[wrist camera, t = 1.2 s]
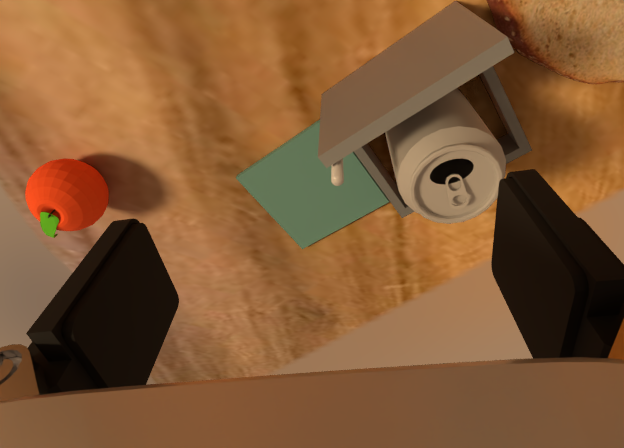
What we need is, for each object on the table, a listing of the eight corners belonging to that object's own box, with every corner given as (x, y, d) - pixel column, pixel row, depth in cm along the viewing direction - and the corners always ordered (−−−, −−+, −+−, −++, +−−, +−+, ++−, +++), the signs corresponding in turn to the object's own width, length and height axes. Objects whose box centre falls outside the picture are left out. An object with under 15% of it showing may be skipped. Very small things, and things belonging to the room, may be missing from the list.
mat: (327, 114, 38) (326, 117, 38) (388, 198, 43) (388, 202, 43) (237, 175, 42) (235, 178, 42) (302, 245, 47) (302, 249, 47)
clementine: (112, 221, 47) (80, 264, 41) (46, 196, 45) (4, 237, 39) (126, 164, 42) (94, 203, 36) (54, 134, 41) (8, 170, 35)
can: (460, 64, 35) (508, 120, 26) (474, 142, 39) (520, 216, 30) (373, 95, 37) (387, 158, 27) (395, 166, 41) (414, 243, 31)
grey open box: (455, 0, 32) (513, 41, 22) (519, 135, 39) (589, 217, 28) (321, 94, 37) (317, 164, 27) (398, 201, 43) (418, 292, 33)
